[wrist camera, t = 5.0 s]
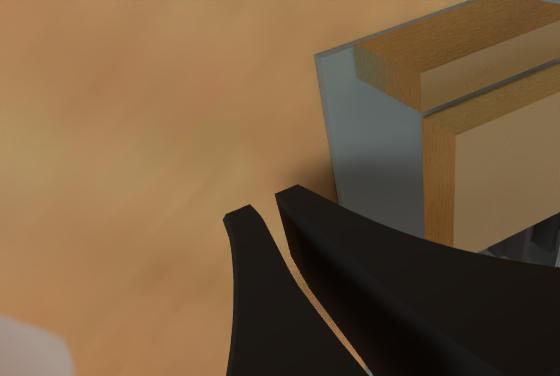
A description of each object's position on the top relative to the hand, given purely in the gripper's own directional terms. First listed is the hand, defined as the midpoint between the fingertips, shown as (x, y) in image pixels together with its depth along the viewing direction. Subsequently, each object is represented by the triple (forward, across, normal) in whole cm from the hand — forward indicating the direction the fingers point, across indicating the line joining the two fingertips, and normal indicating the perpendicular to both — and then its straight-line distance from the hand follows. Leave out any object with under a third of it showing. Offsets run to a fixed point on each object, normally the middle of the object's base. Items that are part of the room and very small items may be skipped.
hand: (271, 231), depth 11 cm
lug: (+3, -7, 0) cm, 8 cm away
